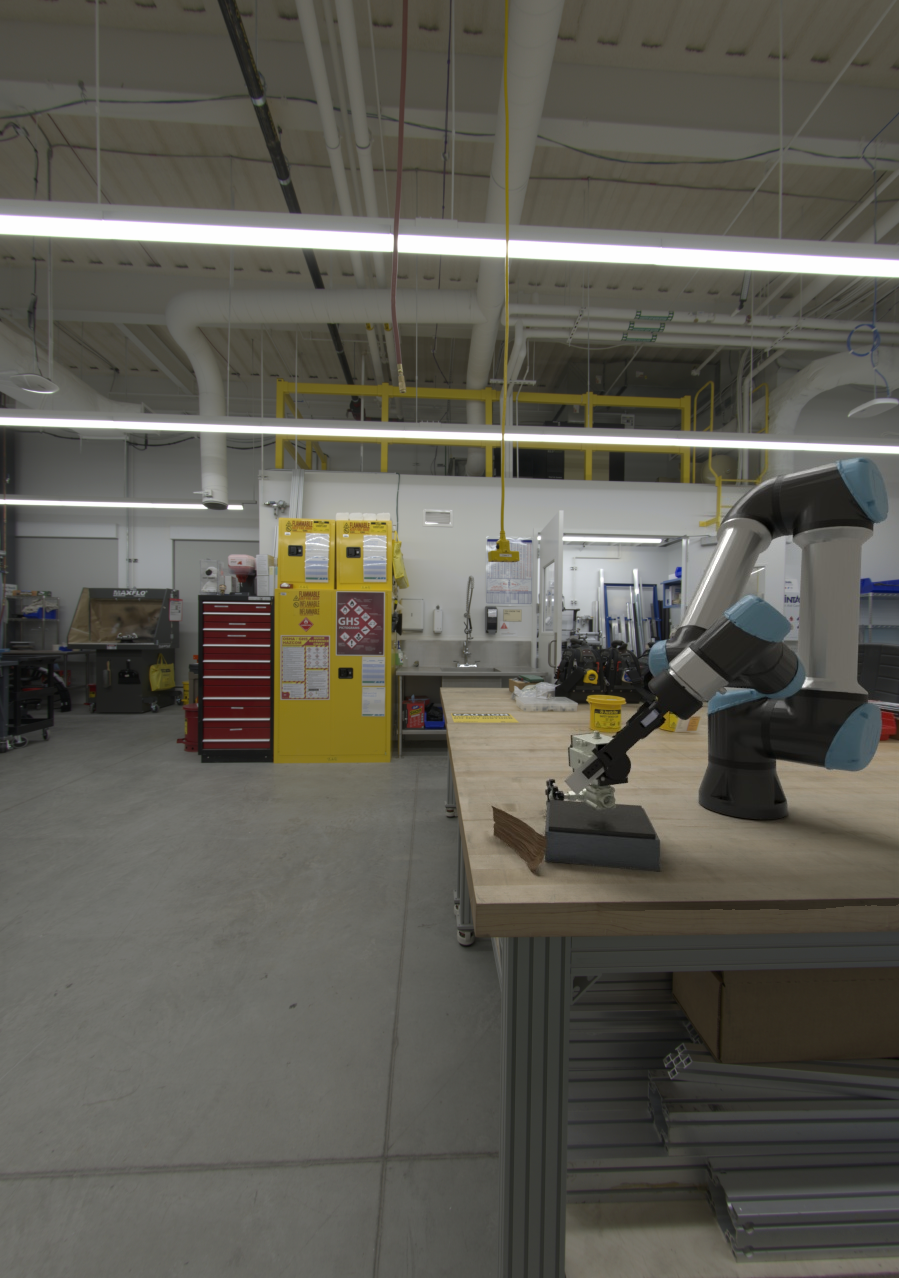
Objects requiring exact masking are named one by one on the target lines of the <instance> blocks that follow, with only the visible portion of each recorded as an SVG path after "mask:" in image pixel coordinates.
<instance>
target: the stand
mask: <svg viewBox="0 0 899 1278" xmlns="http://www.w3.org/2000/svg"><path fill="white" fill-rule="evenodd" d="M615 804H616V808H615V809H611V808H609V809H601V811H596V810H595V809H593V808H591V807H590V806H588V805H587V804H586V802H581V801H577V800H576V801H568V800H564V801H560V800H550V802H547V806H546V810H545V811H546V814H545V826H544V827H545V829H544V836H545V837H546V838H547V846H546V847H547V849H546V851H545V854H544V862H550V863H561V864H571V865H572V864H573V865H584V866H594V867H595V866H597V867H606V868H619V869H627V870H628V869H629V870H630V869H631V870H641V871H651V872H652V871H654V872H661V840H660V837H659V835H658V834H657V831H656V829H655V828H654V826H653V823H652V822H651V820H650V818H649V815H648V814H647V812H646V810H645V808H644V807H642V805H637V804H624V803H623V804H620V803H615Z"/></svg>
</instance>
